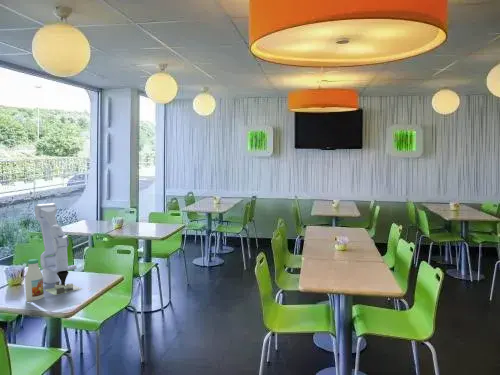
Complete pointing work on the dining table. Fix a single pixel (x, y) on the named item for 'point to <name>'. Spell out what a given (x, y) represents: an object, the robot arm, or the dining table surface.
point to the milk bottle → (33, 281)
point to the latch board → (61, 290)
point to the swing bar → (66, 286)
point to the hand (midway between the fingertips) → (63, 285)
